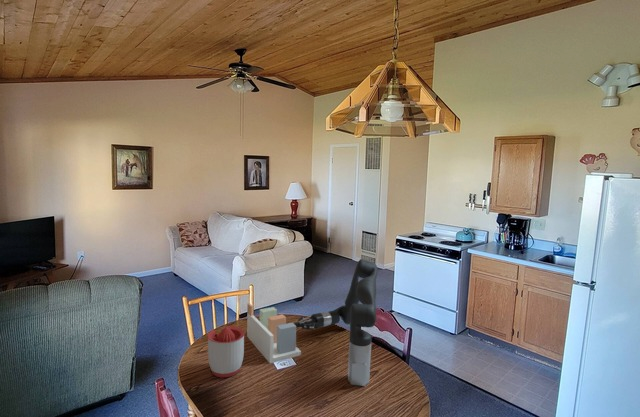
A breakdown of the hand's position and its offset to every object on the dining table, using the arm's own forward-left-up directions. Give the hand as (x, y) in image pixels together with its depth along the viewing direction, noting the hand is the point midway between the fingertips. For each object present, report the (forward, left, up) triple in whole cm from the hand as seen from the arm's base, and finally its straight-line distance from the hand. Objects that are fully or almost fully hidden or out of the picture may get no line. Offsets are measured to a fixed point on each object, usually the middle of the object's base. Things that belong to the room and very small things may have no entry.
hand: (292, 326), depth 192 cm
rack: (-7, +8, -8) cm, 13 cm away
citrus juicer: (-33, +22, -8) cm, 40 cm away
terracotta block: (-6, +7, -6) cm, 10 cm away
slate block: (-14, 0, -6) cm, 15 cm away
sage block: (+3, +14, -6) cm, 15 cm away
